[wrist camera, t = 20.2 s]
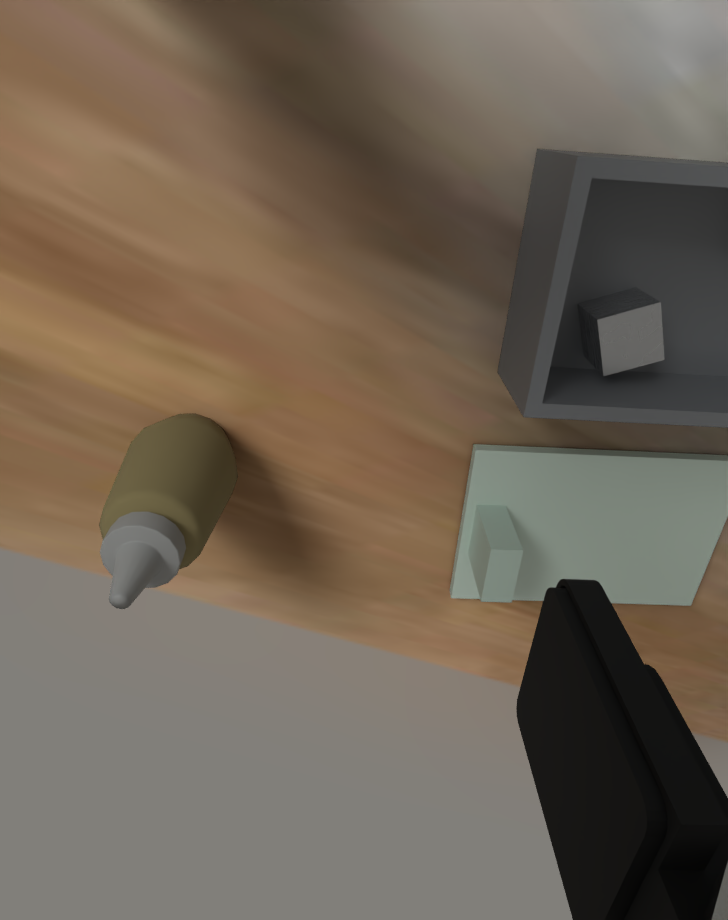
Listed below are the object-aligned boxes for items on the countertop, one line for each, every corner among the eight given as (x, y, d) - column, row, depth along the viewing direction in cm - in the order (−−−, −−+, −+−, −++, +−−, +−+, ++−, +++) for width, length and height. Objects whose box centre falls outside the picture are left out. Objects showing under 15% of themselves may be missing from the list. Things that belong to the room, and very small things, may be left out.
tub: (537, 148, 40) (577, 155, 33) (869, 173, 41) (978, 184, 34) (497, 372, 47) (523, 417, 40) (780, 387, 48) (855, 434, 41)
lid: (472, 440, 50) (491, 491, 43) (739, 452, 51) (797, 503, 44) (448, 586, 57) (461, 648, 50) (682, 593, 58) (725, 655, 52)
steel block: (577, 303, 43) (597, 319, 40) (635, 286, 43) (660, 301, 39) (584, 356, 45) (603, 376, 42) (639, 340, 45) (664, 359, 41)
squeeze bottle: (189, 506, 52) (120, 675, 36) (119, 434, 49) (8, 586, 33) (266, 456, 50) (227, 613, 34) (197, 378, 47) (120, 512, 31)
